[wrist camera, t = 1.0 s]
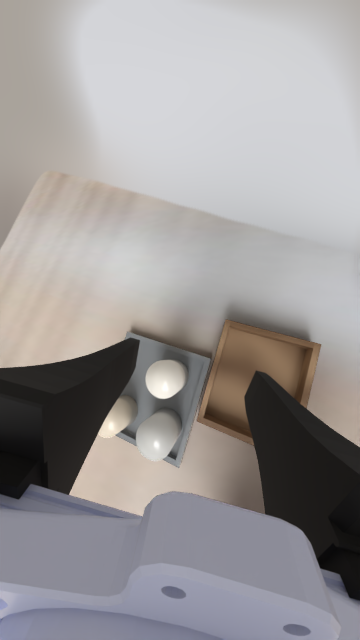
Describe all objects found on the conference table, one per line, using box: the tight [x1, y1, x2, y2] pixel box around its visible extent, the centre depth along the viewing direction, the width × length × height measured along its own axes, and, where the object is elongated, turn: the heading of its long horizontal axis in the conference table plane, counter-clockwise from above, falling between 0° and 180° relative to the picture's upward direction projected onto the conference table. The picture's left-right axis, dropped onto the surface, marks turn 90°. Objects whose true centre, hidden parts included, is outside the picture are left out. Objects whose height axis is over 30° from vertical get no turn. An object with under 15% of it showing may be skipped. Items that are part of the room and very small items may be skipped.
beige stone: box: [98, 395, 138, 438], centre depth 24 cm, size 4×4×4 cm
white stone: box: [146, 359, 189, 399], centre depth 23 cm, size 4×4×4 cm
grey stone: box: [136, 408, 182, 461], centre depth 22 cm, size 4×4×4 cm
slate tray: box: [116, 332, 211, 468], centre depth 25 cm, size 13×12×1 cm
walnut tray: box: [197, 320, 321, 445], centre depth 22 cm, size 12×10×2 cm
